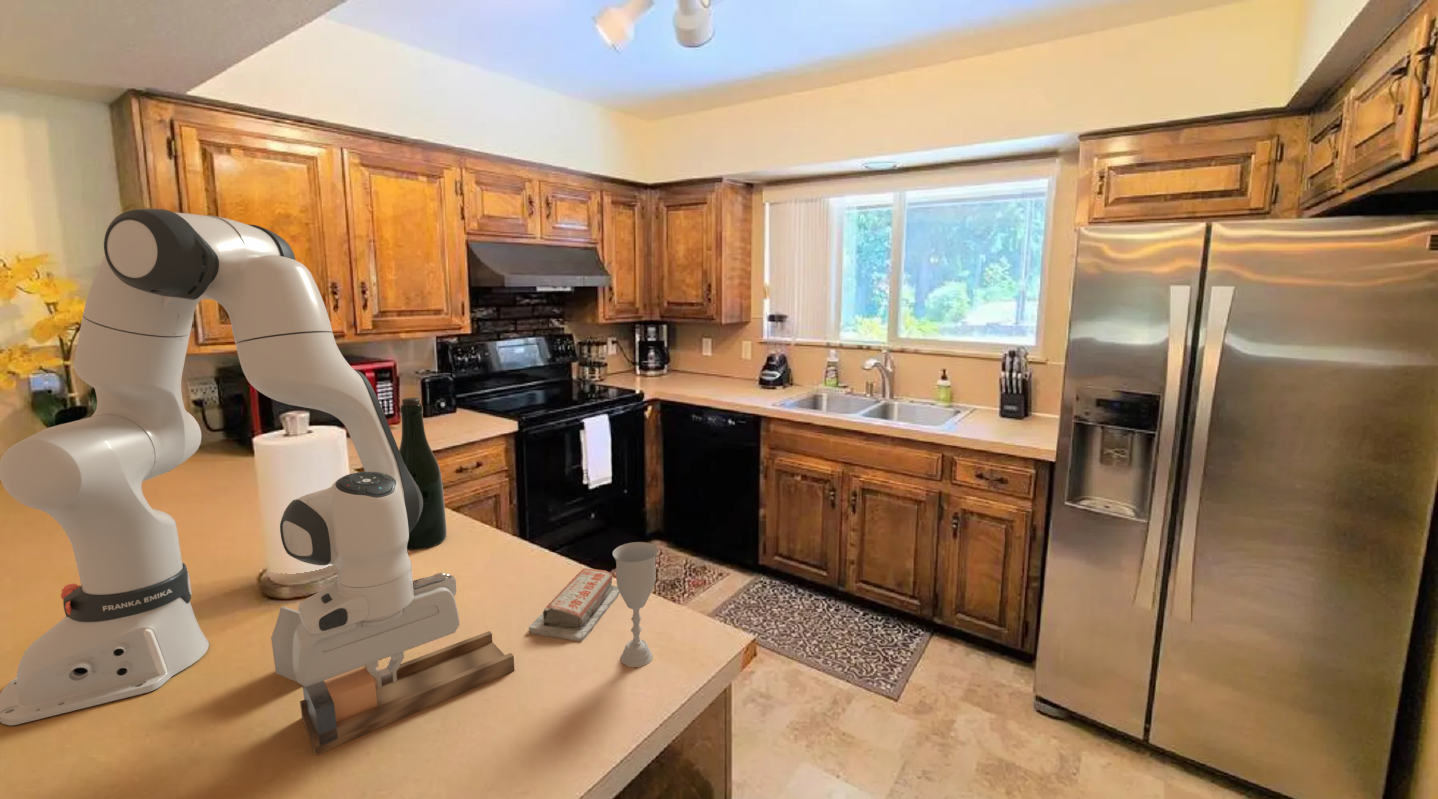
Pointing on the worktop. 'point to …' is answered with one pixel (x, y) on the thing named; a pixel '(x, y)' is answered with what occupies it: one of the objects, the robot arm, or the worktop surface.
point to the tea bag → (285, 641)
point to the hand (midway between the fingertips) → (385, 683)
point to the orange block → (352, 693)
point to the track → (422, 687)
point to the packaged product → (577, 606)
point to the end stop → (320, 710)
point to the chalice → (635, 593)
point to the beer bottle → (422, 477)
